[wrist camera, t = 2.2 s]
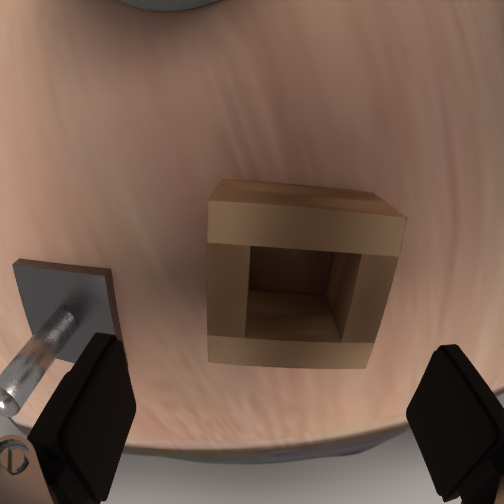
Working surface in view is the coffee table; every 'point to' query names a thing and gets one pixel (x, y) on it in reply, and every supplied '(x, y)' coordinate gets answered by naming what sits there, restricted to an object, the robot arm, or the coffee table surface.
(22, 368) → the peg stand
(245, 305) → the square wooden ring
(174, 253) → the coffee table surface
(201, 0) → the teal cup
